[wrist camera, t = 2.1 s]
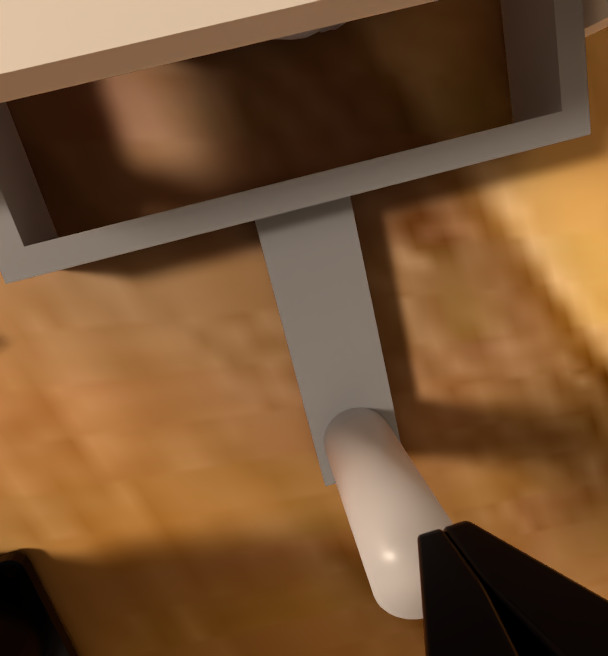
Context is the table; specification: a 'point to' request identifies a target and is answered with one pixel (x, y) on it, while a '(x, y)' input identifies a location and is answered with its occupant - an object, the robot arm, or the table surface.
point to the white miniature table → (161, 33)
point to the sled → (336, 279)
